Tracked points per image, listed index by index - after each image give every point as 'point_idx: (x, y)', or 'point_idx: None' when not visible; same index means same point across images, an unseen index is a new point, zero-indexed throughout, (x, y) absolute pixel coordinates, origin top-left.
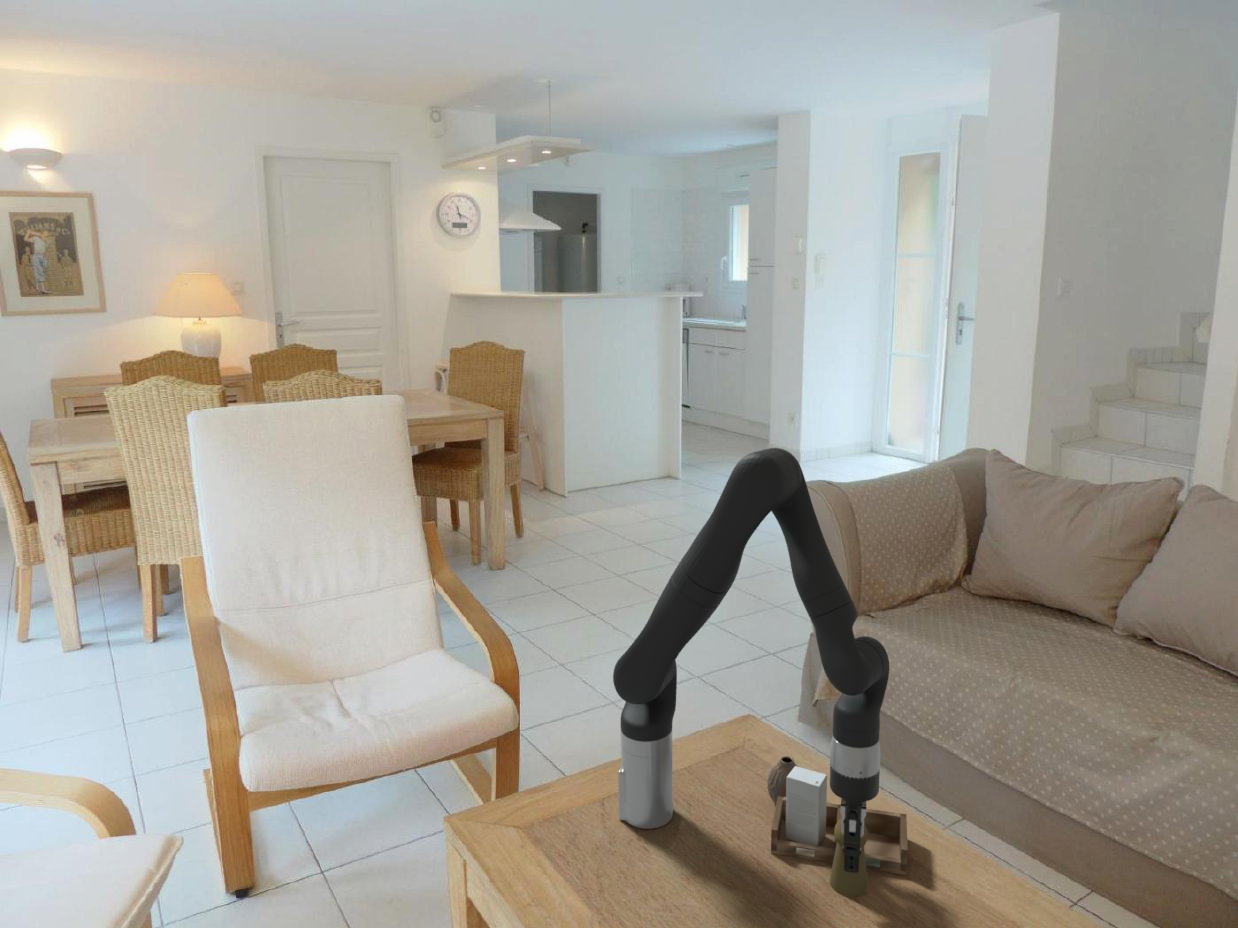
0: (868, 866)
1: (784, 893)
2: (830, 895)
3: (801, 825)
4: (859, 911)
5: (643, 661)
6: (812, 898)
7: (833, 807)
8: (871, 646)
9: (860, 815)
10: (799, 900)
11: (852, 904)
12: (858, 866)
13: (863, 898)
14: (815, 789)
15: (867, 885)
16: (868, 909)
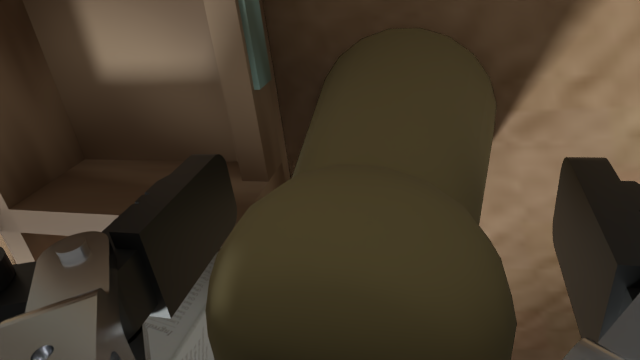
0: (264, 39)
1: (526, 334)
2: (506, 186)
3: (210, 353)
4: (611, 55)
5: None
6: (540, 250)
7: (30, 246)
8: None
9: (111, 259)
10: (561, 292)
11: (557, 92)
12: (620, 180)
13: (498, 43)
14: None
15: (409, 33)
16: (588, 10)
